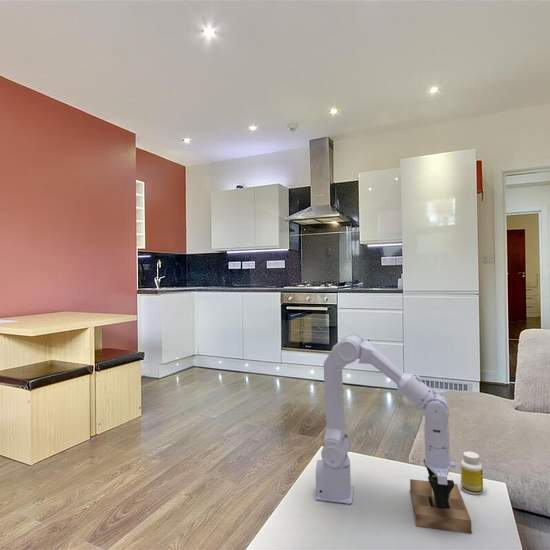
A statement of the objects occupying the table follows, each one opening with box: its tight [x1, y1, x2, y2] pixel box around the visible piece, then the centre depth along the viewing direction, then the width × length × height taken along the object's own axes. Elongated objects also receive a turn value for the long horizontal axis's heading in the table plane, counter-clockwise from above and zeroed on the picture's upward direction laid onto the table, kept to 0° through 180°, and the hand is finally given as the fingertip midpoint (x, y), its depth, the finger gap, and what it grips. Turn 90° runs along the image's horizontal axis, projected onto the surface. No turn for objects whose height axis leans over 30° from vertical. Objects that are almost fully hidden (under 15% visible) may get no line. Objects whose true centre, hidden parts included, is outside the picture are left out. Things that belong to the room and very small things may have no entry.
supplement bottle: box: [460, 451, 484, 496], centre depth 105 cm, size 5×5×10 cm
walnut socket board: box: [409, 478, 472, 534], centre depth 97 cm, size 12×16×3 cm
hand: (438, 498), depth 95 cm, fingers open, 7 cm apart
